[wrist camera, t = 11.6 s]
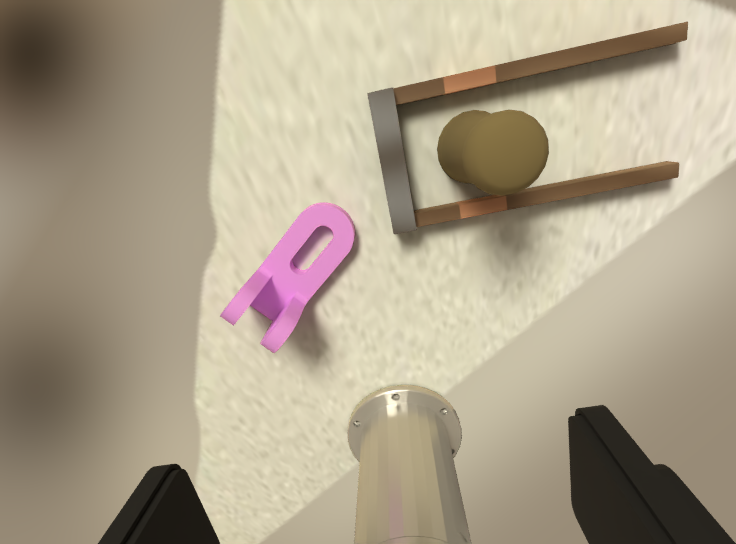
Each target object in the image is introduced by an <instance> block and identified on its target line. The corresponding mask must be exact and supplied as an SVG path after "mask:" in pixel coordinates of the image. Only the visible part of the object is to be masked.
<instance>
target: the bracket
mask: <svg viewBox="0 0 736 544" xmlns="http://www.w3.org/2000/svg"><path fill="white" fill-rule="evenodd" d="M319 226H327V227H329V228H330V229H331V230H332V232H333V239H332V240H331V241H330V243H329V244H328V245H327V246H326V248H325V249H324V250H323V251H322V252H321V254H320V255H319V256H318V257H317V259H316V260H315V261H314V262H313V264H312V265H311V266H310V267H309V268H308V269H306V270H300V269H297V268H296V267H295V266H294V264H293V257H294V255H295V254H296V253H297V252H298V250H299V249H300V248H301V247H302V245H303V244H304V243H305V241H306V240H307V239H308V238H309V236H310V235H311V234H312V233H313V231H314V230H315V229H316V228H317V227H319ZM354 237H355V229H354V224H353V221H352V219H351V218H350V216H349V215H348V213H347V212H346V211H345V210H343V209H342V208H341V207H339V206H337V205H335V204H331V203H316V204H313V205H311V206H309V207H308V208H306V209H305V210H304V211H303V212H302V213H301V214H300V215H299V216H298V218H297V219H296V220H295V222H294V223H293V224H292V226H291V227H290V228H289V229H288V231H287V232H286V233H285V235H284V236H283V237H282V239H281V240H280V241H279V242H278V244H277V245H276V246H275V248H274V249H273V250H272V252H271V253H270V254H269V256H268V257H267V258H266V259H265V261H264V262H263V263H262V265H261V266H260V267H259V269H258V270H257V271H256V272H255V273H254V274H253V275H252V277H251V278H250V279H249V280H248V281H247V282H246V283H245V284H244V286H243V287H242V288H241V289H240V290H239V292H238V293H237V294H236V295H235V297H234V298H233V299H232V300H231V302H230V303H229V304H228V306H227V307H226V308H225V309H224V311H223V312H222V314H221V315H220V317H222V318H223V319H225V320H226V321H228V322H229V323H231V324H232V325H233V326H234V324H235V323H236V322H237V321H238V319H239V318H240V317H241V316H242V314H243V313H244V312H245V311H246V309H247V308H248V307H249V305H250V306H252V307H253V308H254V309H256V310H257V311H259V312H260V313H262V314H263V315H264V316H266V317H267V318H269V319H270V320H272V321H273V322H272V323H271V325H270V327H269V329H268V330H267V332H266V334H265V336H264V337H263V339H262V341H261V343H260V344H261V345H263V346H264V347H266V348H267V349H268V350H270V351H271V352H273V353H275V352H276V351H277V350H278V349H279V348H280V347H281V346H282V345H283V343H284V342H285V341H286V339H287V338H288V337H289V335H290V334H291V333H292V331H293V330H294V328H295V326H296V325H297V323H298V321H299V318H300V316H301V314H302V311H303V309H304V307H305V305H306V303H307V302H308V301H309V299H310V298H311V297H312V296H313V295H314V293H315V292H316V291H317V290H318V289H319V287H320V286H321V285H322V284H323V283H324V282H325V280H326V279H327V278H328V277H329V276H330V274H331V273H332V272H333V271H334V270H335V268H336V267H337V266H338V265H339V264H340V263H341V261H342V260H343V259H344V258H345V257H346V255H347V254H348V253H349V251H350V250H351V248H352V245H353V242H354Z"/></svg>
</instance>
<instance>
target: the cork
mask: <svg viewBox="0 0 736 544" xmlns="http://www.w3.org/2000/svg"><path fill="white" fill-rule="evenodd" d="M437 152H438V160H439V162H440V164H441V166H442V169H443V170H444V171H445V172H446V173H447V174H448V175H449V176H450V177H451V178H452V179H454V180H456V181H459V182H462V183H470V184H474V185H475V186H476V187H477V188H478V189H480V190H482V191H484V192H486V193H488V194H493V195H500V196H503V195H509V194H514V193H517V192H519V191H521V190H523V189H525V188H527V187H529V186H530V185H531V184H532V183H533V182H534V181H535V180H536V179H537V178H538V177H539V176H540V174H541V172H542V171H543V169H544V167H545V165H546V162H547V158H548V154H549V147H548V138H547V136H546V133H545V131H544V128H543V127H542V126H541V125H540V124H539V123H538V121H537V120H536V119H535V118H534V117H532V116H530V115H528V114H526V113H524V112H522V111H515V110H505V111H500V112H495V113H492V114H490V113H488V112H486V111H479V110H472V111H467V112H463V113H461V114H459V115H458V116H456V117H454V118H453V119H452V120H451V121H450V122H449V123H448V124H447V125H446V126H445V127H444V129H443V131H442V133H441V135H440V137H439V142H438V147H437Z"/></svg>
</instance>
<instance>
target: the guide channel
mask: <svg viewBox="0 0 736 544" xmlns="http://www.w3.org/2000/svg"><path fill="white" fill-rule="evenodd" d="M687 30H688V22H684V23H679V24H675V25H671V26H666V27H662V28H657V29H653V30H649V31H644V32H640V33H635V34H631V35H627V36H622V37H618V38H614V39H609V40H605V41H600V42H596V43H592V44H587V45H583V46H578V47H574V48H570V49H565V50H561V51H556V52H552V53H548V54H543V55H539V56H534V57H530V58H526V59H521V60H517V61H512V62H508V63H504V64H499V65H495V66H490V67H486V68H482V69H477V70H473V71H468V72H464V73H460V74H455V75H451V76H446V77H442V78H438V79H433V80H429V81H424V82H420V83H416V84H411V85H407V86H402V87H398V88H394V89H393V88H388V89H384V90H379V91H375V92H371V93H367V94H368V99H369V104H370V110H371V115H372V120H373V126H374V131H375V136H376V142H377V147H378V152H379V158H380V163H381V168H382V174H383V179H384V185H385V190H386V195H387V201H388V206H389V211H390V217H391V222H392V227H393V233H394V234H398V233H403V232H409V231H414V230H417V229H416V227H420V226H425V225H430V224H435V223H441V222H446V221H451V220H456V219H462V218H467V217H472V216H478V215H483V214H488V213H493V212H499V211H504V210H509V209H514V208H520V207H525V206H530V205H535V204H541V203H546V202H551V201H556V200H562V199H567V198H572V197H577V196H583V195H588V194H593V193H599V192H604V191H609V190H614V189H620V188H625V187H630V186H635V185H641V184H646V183H651V182H656V181H662V180H667V179H672V178H677V177H678V175H679V163H678V162H669V161H666V162H660V163H655V164H650V165H645V166H640V167H635V168H630V169H624V170H619V171H614V172H609V173H604V174H599V175H594V176H588V177H583V178H578V179H573V180H568V181H563V182H558V183H552V184H547V185H542V186H537V187H532V188H527V189H523V190H521V191H519V192H517V193H514V194H509V195H503V196H500V195H491V196H486V197H481V198H475V199H470V200H465V201H460V202H455V203H450V204H445V205H439V206H434V207H429V208H424V209H419V210H414V211H413V205H412V199H411V193H410V187H409V181H408V175H407V169H406V163H405V157H404V151H403V145H402V139H401V133H400V127H399V121H398V115H397V109H396V106H397V105H401V104H406V103H410V102H415V101H419V100H424V99H428V98H433V97H437V96H442V95H446V94H451V93H455V92H460V91H464V90H469V89H473V88H478V87H482V86H487V85H491V84H496V83H500V82H505V81H509V80H514V79H518V78H523V77H527V76H532V75H536V74H541V73H545V72H550V71H554V70H559V69H563V68H567V67H572V66H576V65H581V64H585V63H590V62H594V61H599V60H603V59H608V58H612V57H617V56H621V55H626V54H630V53H635V52H639V51H644V50H648V49H653V48H657V47H662V46H666V45H671V44H675V43H678V42H681V41H685V40H687Z"/></svg>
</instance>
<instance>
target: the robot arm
mask: <svg viewBox="0 0 736 544" xmlns="http://www.w3.org/2000/svg"><path fill="white" fill-rule="evenodd" d="M568 420H569V421H568V423H569V424H568V425H569V450H570V475H571V476H570V477H571V501H572V507H573V510H574V513H575V516H576V519H577V520H578V523H579V525H580V527H581V529H582V531H583V533H584V535H585V537H586V539H587V541H588V543H589V544H736V543H735V542H734V541H733V540H732V539H731V538H730V537H729V535H728V534H727V533H726V532H725V530H724V529H723V528H722V527H721V526H720V525H719V523H718V522H717V521H716V520H715V519H714V518H713V516H712V515H711V514H710V513H709V512H708V511H707V509H706V508H705V507H704V506H703V505H702V504H701V503H700V501H699V500H698V499H697V498H696V497H695V495H694V494H693V493H692V492H691V491H690V490H689V488H688V487H687V486H686V485H685V484H684V483H683V481H682V480H681V479H680V478H679V477H678V476H677V474H675V472H673V471H672V470H671V469H670V468H669V467H667V466H666V465H663V464H658V465H653V463H652V462H651V461H650V460H649V459H648V457H647V456H646V455H645V454H644V452H643V451H642V450H641V449H640V448H639V446H638V445H637V444H636V443H635V441H634V440H633V439H632V438H631V436H630V435H629V434H628V433H627V431H626V430H625V429H624V428H623V426H622V425H621V424H620V423H619V422H618V420H617V419H616V418H615V417H614V415H613V414H612V413H611V412H610V410H609V409H608V408H607V407H606V406H604V405H599V406H592V407H585V408H578V409H576V411H575V416H570V417H569V419H568ZM461 433H462V432H461V426H460V422H459V418H458V416H457V414H456V411H455V410H454V409H453V407H452V406H451V405H450V403H449V402H447V400H445V399H444V398H443V397H442V396H440V395H439V394H437V393H435V392H434V391H431V390H429V389H426V388H423V387H418V386H414V385H397V386H390V387H386V388H383V389H380V390H378V391H375V392H373V393H371V394H370V395H368V396H367V397H366V398H364V399H363V400H362V401H361V402H360V403H359V404H358V405H357V406H356V408H355V409H354V411H353V413H352V414H351V417H350V420H349V426H348V443H349V446H350V449H351V451H352V453H353V455H354V457H355V458H356V459H357V460H358V461H359V463H360V464H359V479H358V494H357V508H356V523H355V538H354V544H471V540H470V534H469V530H468V525H467V521H466V516H465V511H464V507H463V502H462V497H461V493H460V488H459V484H458V479H457V474H456V470H455V465H454V460H453V458H454V457H455V455H456V454H457V451H458V450H459V447H460V444H461V439H462V435H461ZM98 544H220V542H219V540H218V537H217V535H216V533H215V531H214V529H213V527H212V525H211V522H210V520H209V518H208V516H207V514H206V512H205V510H204V508H203V505H202V503H201V501H200V499H199V497H198V495H197V493H196V491H195V488H194V486H193V484H192V482H191V480H190V478H189V476H188V473H187V472H186V470H184V469H181V467H180V466H179V465H177V464H170V465H162V466H156V467H152V468H151V469H150V470H149V471H148V472H147V473H146V474H145V476H144V477H143V479H142V480H141V482H140V483H139V485H138V486H137V488H136V489H135V490H134V492H133V493H132V495H131V496H130V498H129V499H128V501H127V502H126V504H125V505H124V506H123V508H122V509H121V511H120V513H119V514H118V515H117V517H116V518H115V520H114V521H113V522H112V524H111V525H110V527H109V528H108V530H107V531H106V533H105V534H104V536H103V537H102V539H101V540H100V542H99V543H98Z"/></svg>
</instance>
